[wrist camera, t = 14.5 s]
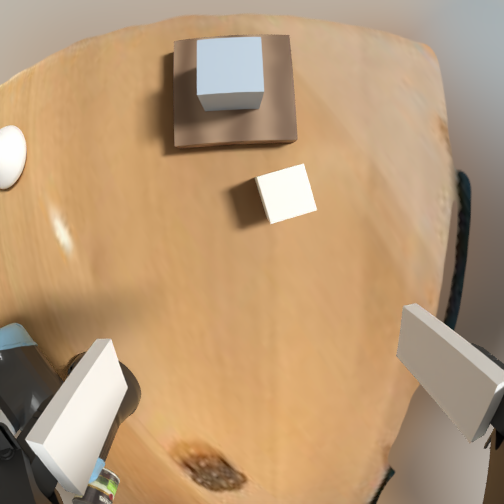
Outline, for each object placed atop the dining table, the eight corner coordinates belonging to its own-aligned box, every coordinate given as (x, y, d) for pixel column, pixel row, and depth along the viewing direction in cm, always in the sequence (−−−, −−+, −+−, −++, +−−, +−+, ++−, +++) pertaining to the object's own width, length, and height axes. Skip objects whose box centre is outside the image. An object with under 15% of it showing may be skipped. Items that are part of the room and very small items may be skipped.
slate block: (205, 111, 35) (196, 95, 28) (204, 64, 34) (196, 40, 26) (259, 108, 36) (264, 91, 28) (256, 62, 34) (261, 36, 26)
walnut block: (180, 149, 40) (174, 146, 36) (179, 51, 36) (174, 41, 33) (292, 143, 41) (297, 139, 37) (285, 46, 37) (289, 35, 33)
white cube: (266, 217, 43) (271, 223, 37) (254, 177, 41) (256, 177, 35) (306, 205, 42) (316, 210, 37) (294, 165, 41) (303, 163, 35)
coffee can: (110, 466, 56) (97, 505, 42) (125, 485, 58) (114, 522, 44) (80, 461, 56) (64, 496, 42) (95, 480, 58) (83, 514, 44)
